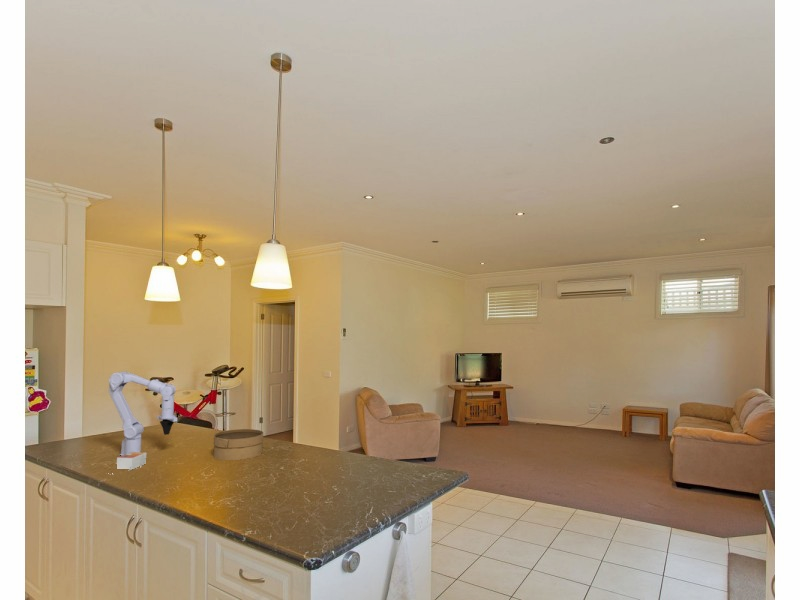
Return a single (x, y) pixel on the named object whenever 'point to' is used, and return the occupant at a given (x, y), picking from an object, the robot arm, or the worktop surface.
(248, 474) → the worktop surface
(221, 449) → the steamer basket
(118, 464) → the small box
